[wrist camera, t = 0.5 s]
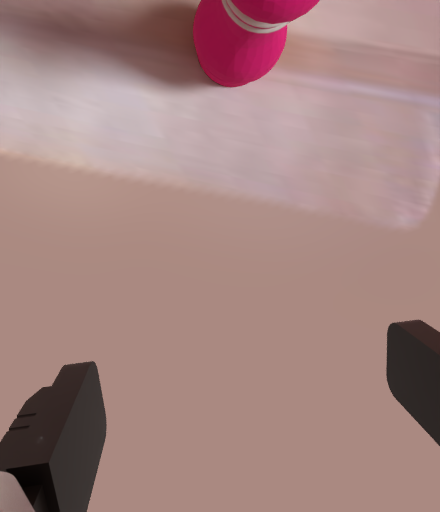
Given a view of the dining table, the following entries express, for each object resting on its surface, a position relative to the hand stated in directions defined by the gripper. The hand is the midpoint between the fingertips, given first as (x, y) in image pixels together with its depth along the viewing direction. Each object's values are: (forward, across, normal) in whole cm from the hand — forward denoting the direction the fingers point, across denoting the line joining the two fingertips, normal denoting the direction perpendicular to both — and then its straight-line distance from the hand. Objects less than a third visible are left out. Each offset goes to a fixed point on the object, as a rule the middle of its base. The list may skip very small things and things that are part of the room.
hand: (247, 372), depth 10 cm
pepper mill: (+28, -5, -15) cm, 32 cm away
